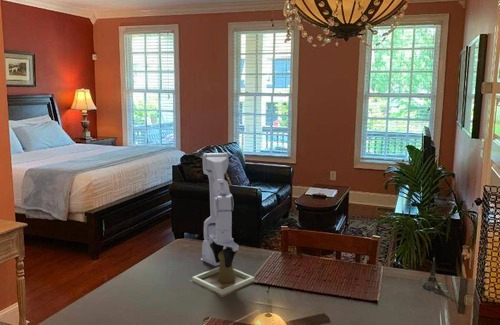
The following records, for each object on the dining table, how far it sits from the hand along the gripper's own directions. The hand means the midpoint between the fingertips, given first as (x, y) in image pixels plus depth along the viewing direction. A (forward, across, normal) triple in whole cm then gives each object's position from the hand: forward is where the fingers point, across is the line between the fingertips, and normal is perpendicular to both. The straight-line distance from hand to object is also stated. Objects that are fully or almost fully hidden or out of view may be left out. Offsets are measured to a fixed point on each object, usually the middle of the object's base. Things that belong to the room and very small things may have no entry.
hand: (223, 264), depth 168 cm
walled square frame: (+6, 0, 0) cm, 6 cm away
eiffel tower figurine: (+8, -52, -54) cm, 75 cm away
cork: (+6, 0, -1) cm, 7 cm away
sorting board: (+7, 0, 0) cm, 7 cm away
